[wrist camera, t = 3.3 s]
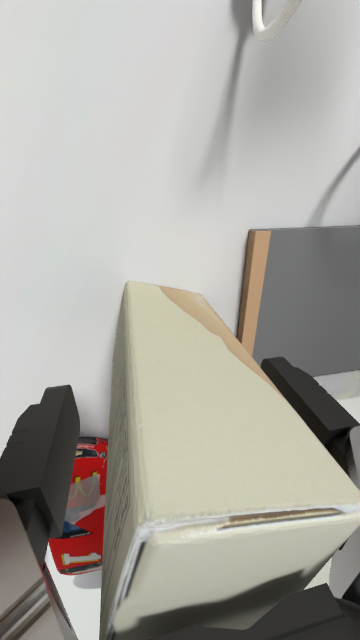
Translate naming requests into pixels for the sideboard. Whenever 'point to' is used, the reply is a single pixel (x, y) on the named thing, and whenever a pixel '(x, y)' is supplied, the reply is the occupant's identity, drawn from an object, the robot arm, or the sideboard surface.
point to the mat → (303, 298)
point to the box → (207, 478)
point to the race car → (84, 511)
